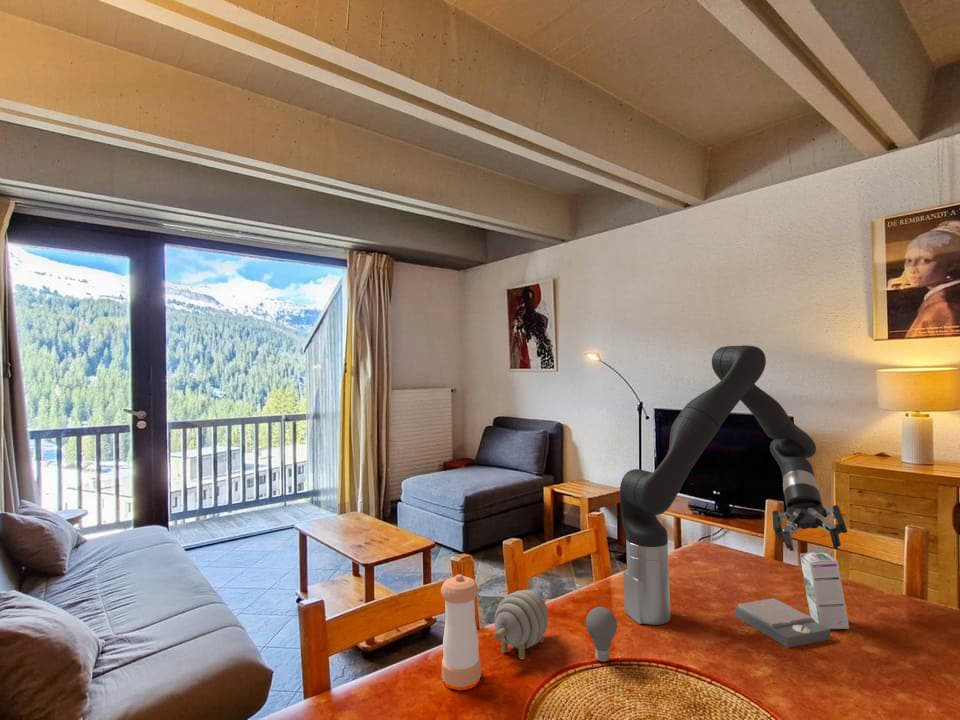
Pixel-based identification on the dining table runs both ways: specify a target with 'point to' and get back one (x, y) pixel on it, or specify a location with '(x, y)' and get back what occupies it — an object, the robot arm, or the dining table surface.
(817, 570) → the syrup box
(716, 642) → the dining table surface
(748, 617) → the scale base
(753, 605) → the scale pan
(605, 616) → the light bulb
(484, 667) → the dining table surface
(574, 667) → the dining table surface
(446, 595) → the salt shaker
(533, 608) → the toy sheep
